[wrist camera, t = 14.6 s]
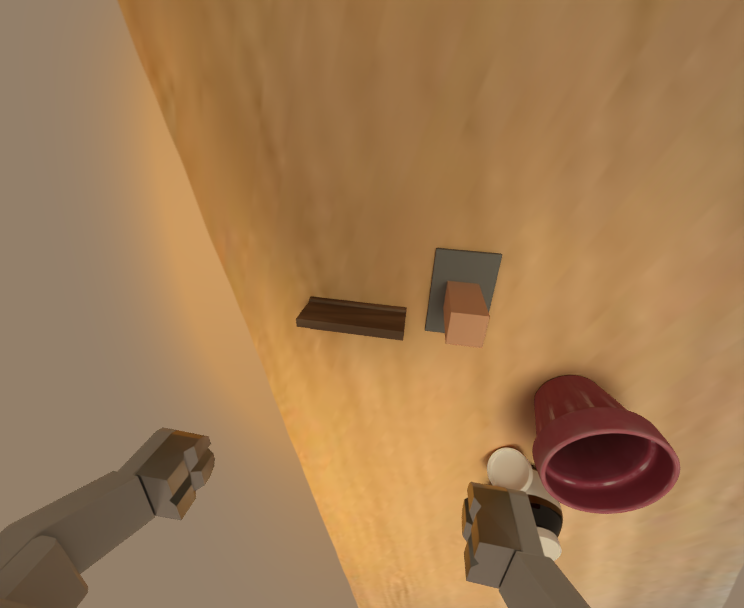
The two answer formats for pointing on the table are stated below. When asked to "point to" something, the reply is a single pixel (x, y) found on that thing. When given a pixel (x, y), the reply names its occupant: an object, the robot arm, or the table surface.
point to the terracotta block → (465, 314)
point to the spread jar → (529, 495)
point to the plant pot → (598, 450)
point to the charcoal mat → (460, 279)
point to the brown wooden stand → (353, 318)
